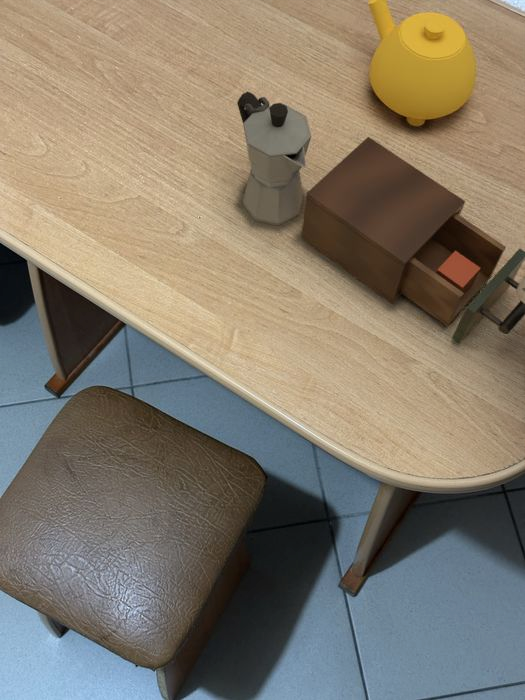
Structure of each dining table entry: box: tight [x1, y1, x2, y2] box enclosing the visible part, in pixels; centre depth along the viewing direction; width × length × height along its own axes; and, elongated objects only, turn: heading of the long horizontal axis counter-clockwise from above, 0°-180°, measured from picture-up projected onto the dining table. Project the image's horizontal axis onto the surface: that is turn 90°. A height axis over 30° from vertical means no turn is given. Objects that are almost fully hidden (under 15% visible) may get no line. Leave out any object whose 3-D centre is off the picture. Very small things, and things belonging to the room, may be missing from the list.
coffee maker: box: [236, 91, 312, 227], centre depth 111 cm, size 15×9×18 cm, turn 33°
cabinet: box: [301, 136, 466, 305], centre depth 111 cm, size 16×13×10 cm
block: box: [436, 251, 481, 294], centre depth 108 cm, size 4×4×4 cm
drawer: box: [399, 213, 525, 344], centre depth 107 cm, size 19×12×8 cm, turn 49°
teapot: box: [367, 0, 477, 127], centre depth 123 cm, size 20×16×14 cm
